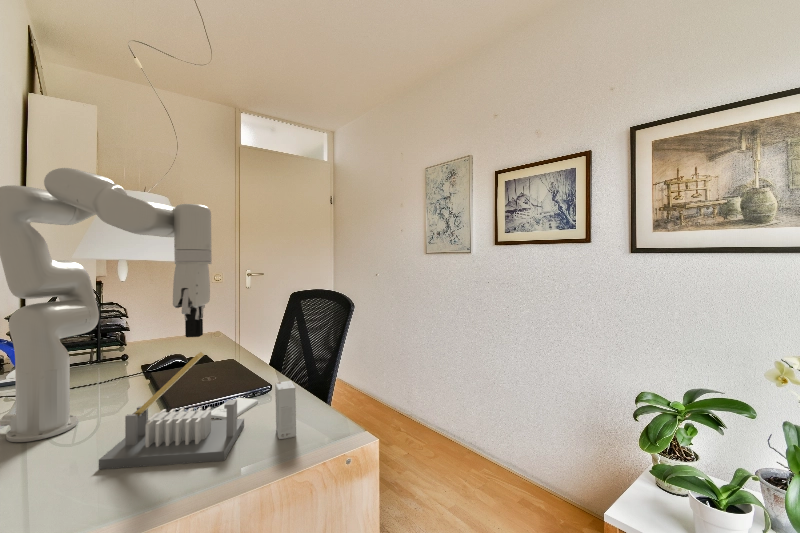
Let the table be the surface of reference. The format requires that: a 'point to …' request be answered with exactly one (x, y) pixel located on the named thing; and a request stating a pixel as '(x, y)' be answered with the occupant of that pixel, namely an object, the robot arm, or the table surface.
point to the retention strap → (168, 385)
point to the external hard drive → (242, 406)
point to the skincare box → (285, 409)
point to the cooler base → (173, 452)
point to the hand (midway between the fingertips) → (194, 336)
